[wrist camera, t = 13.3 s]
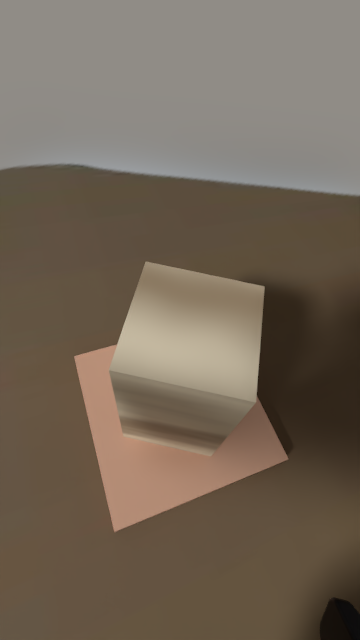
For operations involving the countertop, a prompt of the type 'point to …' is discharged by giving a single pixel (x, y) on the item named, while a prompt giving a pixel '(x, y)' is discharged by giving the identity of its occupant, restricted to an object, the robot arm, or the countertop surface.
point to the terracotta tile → (164, 453)
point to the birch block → (187, 358)
